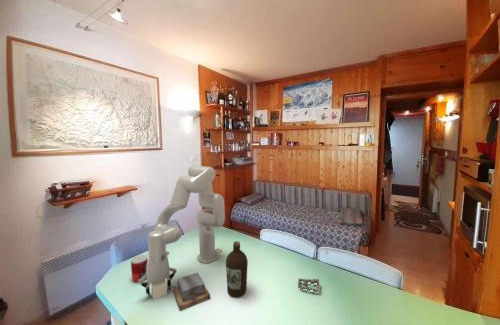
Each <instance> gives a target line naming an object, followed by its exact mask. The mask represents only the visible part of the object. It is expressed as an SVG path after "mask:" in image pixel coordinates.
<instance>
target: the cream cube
mask: <svg viewBox="0 0 500 325" xmlns="http://www.w3.org/2000/svg"><path fill="white" fill-rule="evenodd" d="M150 287H151V295H152V300H153V301H154V300H157V299H160V298H162V297H166V296H167V295H168V292H167V291H168V290H167V289H168V286H167V280H166V279H163V280H160V281H157V282H153V283H151V284H150Z"/></svg>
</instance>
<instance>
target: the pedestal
mask: <svg viewBox="0 0 500 325" xmlns="http://www.w3.org/2000/svg"><path fill="white" fill-rule="evenodd" d="M172 293H173V296H174V299H175V301H176V304H177V307H178V310H179V311H180V312H181V311H183V310H185V309H188V308H190V307H193V306H195V305H198V304H201V303H202V302H205V301H208V300H210V299H211V294H210V292H209V290H208V288H207V287H206V285H205V282H204V281H203V279H202V277H201V275H200V273H199V272H196V273H192V274H189V275H185V276H183V277H180V278H177V285H176V286H173V287H172Z"/></svg>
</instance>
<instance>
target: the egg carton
mask: <svg viewBox="0 0 500 325" xmlns="http://www.w3.org/2000/svg"><path fill="white" fill-rule="evenodd" d="M301 281H303V282H304V283H301ZM308 282H310V283H311V284H314V283H317V286H316V289H315V288H314V287H312V286H311V287H312V288H311V287H309V284H308ZM320 287H321V284H320V278H301V277H299V278H298V280H297V289H298V288H300V290H303V289H307V291H310V290H313V291H314V292H316V293H317V292H318V291H319V292H320V291H321V290H320V289H321V288H320ZM300 290H299V291H300ZM307 291H306V292H307ZM317 294H318V293H317Z"/></svg>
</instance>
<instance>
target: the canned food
mask: <svg viewBox="0 0 500 325" xmlns="http://www.w3.org/2000/svg"><path fill="white" fill-rule="evenodd" d="M147 261H148V256H147V255H145V254H139V255H136V256H134V257H132V258H131V260H130V269H131V279H132V281H133V283H139V281H138V280H139V279H140V278H142V277H143V276H144V275H145V274H146V266H147ZM143 282H145V280H143Z"/></svg>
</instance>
